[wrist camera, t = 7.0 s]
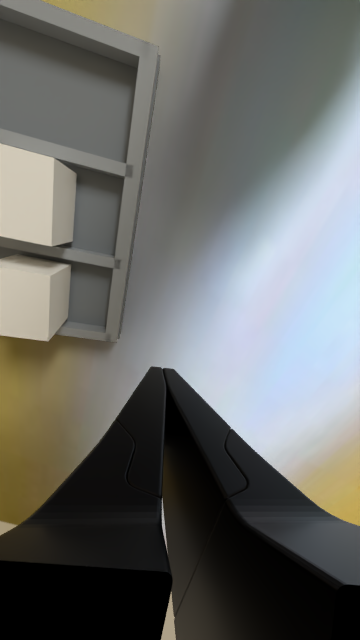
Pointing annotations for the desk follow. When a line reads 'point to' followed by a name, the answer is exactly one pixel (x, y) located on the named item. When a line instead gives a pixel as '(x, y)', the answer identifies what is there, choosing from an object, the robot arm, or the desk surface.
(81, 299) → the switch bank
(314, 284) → the desk surface
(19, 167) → the beige squarish block
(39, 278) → the cream block
